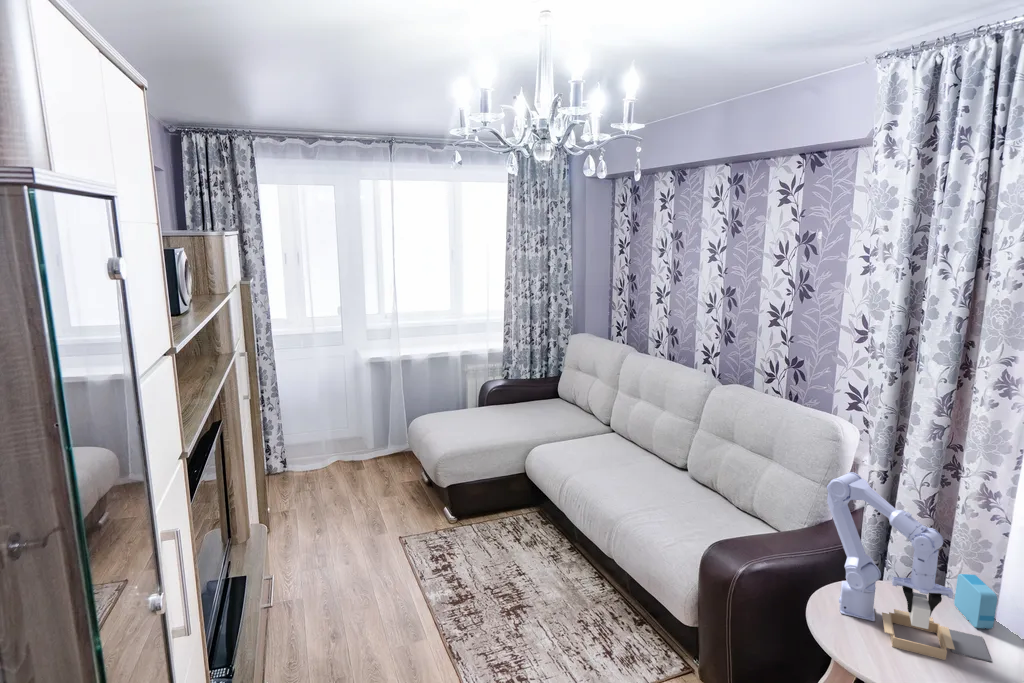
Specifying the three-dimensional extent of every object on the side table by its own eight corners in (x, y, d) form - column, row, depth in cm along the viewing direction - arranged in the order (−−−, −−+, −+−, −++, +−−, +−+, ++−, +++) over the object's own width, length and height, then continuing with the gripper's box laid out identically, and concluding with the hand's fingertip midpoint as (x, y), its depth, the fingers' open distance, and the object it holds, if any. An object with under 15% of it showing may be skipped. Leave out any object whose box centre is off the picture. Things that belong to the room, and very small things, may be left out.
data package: (993, 631, 181) (998, 595, 178) (976, 630, 181) (981, 594, 179) (968, 606, 192) (973, 572, 190) (953, 605, 193) (957, 571, 191)
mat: (951, 652, 172) (952, 651, 172) (945, 629, 182) (945, 628, 182) (991, 662, 168) (991, 660, 168) (981, 638, 178) (982, 636, 178)
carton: (884, 644, 176) (885, 634, 175) (880, 615, 189) (881, 606, 188) (954, 662, 168) (955, 651, 168) (944, 630, 181) (946, 620, 181)
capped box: (911, 625, 174) (913, 606, 173) (908, 609, 181) (910, 591, 180) (928, 629, 172) (930, 610, 171) (924, 613, 179) (926, 594, 178)
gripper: (895, 571, 173) (891, 613, 176) (957, 584, 167) (951, 627, 169) (893, 559, 179) (888, 600, 182) (952, 570, 173) (946, 613, 176)
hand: (918, 612), depth 176 cm, fingers closed on capped box, 4 cm apart
